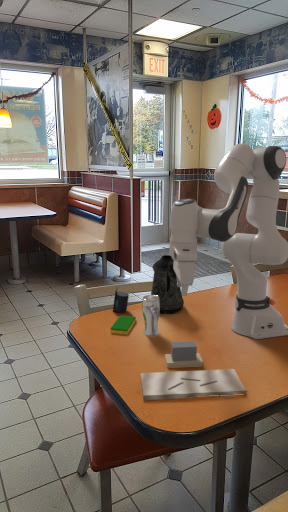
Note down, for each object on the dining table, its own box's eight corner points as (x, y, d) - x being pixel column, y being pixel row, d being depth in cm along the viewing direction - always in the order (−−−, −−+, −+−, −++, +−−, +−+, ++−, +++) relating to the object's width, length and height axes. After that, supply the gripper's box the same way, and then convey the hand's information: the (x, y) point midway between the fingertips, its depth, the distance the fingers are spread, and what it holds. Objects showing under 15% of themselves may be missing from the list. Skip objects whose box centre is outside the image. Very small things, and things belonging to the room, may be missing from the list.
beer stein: (165, 299, 191) (165, 250, 185) (196, 309, 177) (197, 257, 171) (141, 307, 180) (140, 256, 174) (171, 319, 166) (171, 263, 160)
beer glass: (158, 337, 150) (158, 301, 146) (141, 336, 151) (140, 300, 148) (161, 329, 156) (161, 295, 153) (144, 328, 158) (144, 294, 154)
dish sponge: (136, 321, 166) (136, 316, 165) (127, 335, 153) (127, 329, 152) (120, 320, 167) (120, 315, 167) (110, 333, 154) (110, 328, 154)
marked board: (233, 373, 124) (233, 368, 124) (245, 395, 113) (245, 390, 112) (140, 377, 122) (140, 372, 122) (143, 400, 111) (143, 395, 110)
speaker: (108, 311, 176) (110, 289, 173) (114, 307, 181) (116, 286, 178) (123, 315, 173) (125, 293, 170) (128, 311, 178) (130, 290, 176)
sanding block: (199, 358, 134) (199, 339, 133) (202, 366, 129) (203, 347, 127) (164, 359, 134) (164, 341, 132) (167, 368, 128) (167, 349, 126)
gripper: (169, 243, 135) (168, 281, 138) (177, 256, 115) (176, 300, 118) (187, 243, 135) (186, 281, 138) (198, 256, 115) (197, 300, 118)
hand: (181, 290), depth 128 cm, fingers open, 8 cm apart
